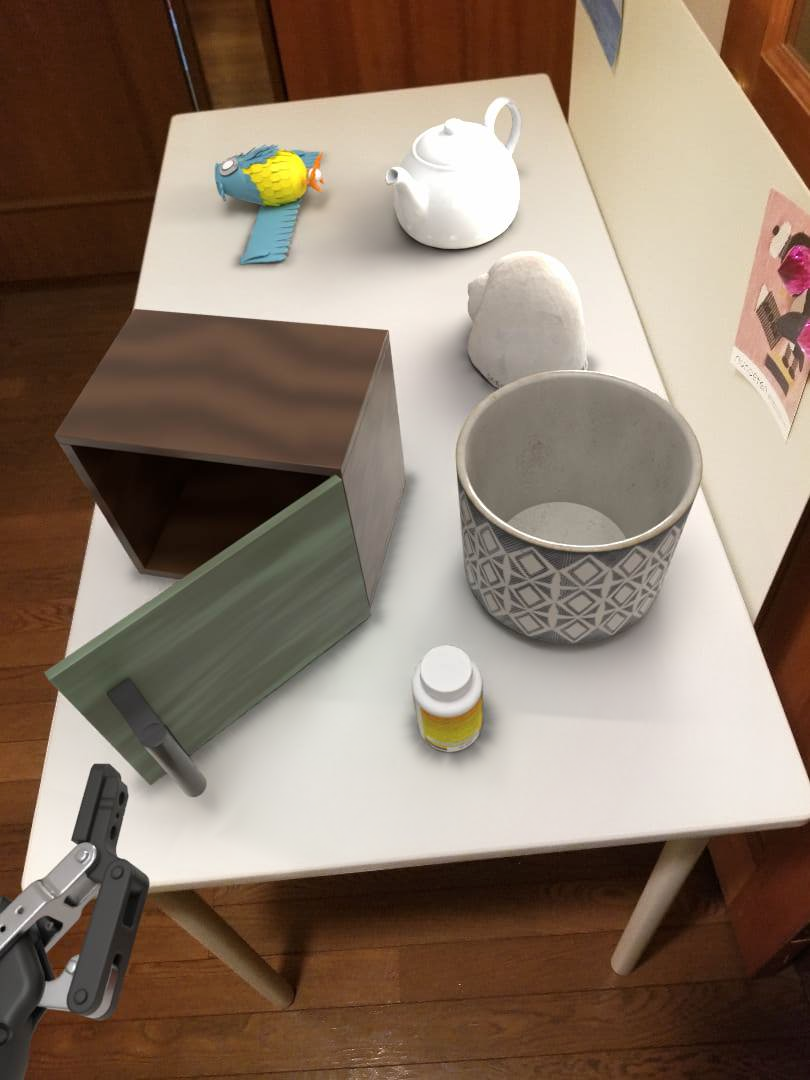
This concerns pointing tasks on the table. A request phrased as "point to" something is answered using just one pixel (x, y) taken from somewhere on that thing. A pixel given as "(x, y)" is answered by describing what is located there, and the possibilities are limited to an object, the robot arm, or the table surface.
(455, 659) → the supplement bottle
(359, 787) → the table surface
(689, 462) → the planter
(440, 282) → the table surface
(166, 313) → the cupboard
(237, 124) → the table surface
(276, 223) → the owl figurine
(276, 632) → the cupboard door
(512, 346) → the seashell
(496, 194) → the teapot
